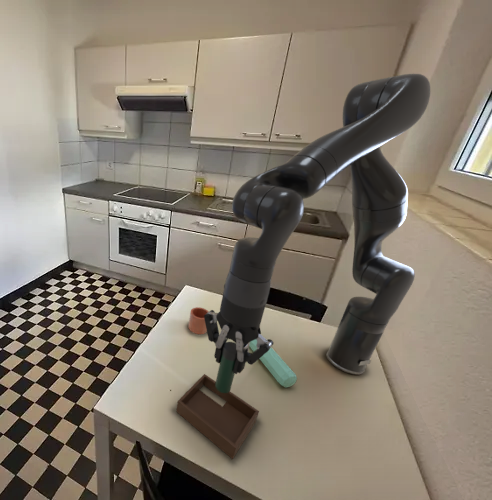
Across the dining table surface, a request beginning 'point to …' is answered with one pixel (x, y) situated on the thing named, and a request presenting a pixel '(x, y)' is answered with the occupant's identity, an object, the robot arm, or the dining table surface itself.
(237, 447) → the tray
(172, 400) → the dining table surface
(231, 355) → the marker
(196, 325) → the pen pot
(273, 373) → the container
